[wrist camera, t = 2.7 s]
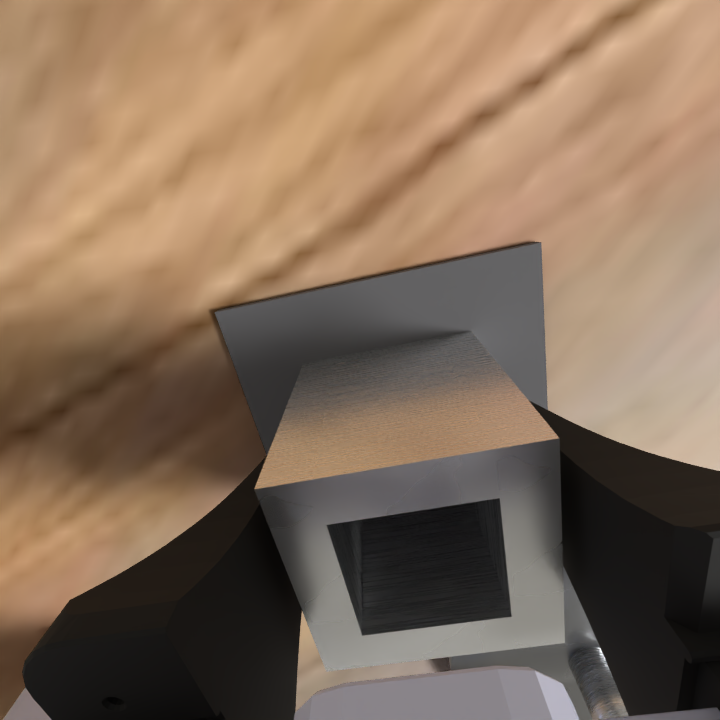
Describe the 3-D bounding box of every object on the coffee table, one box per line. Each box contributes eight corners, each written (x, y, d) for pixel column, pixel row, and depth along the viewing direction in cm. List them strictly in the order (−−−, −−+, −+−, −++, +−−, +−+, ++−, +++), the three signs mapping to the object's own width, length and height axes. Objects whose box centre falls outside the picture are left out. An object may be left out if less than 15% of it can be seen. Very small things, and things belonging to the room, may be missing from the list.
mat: (301, 540, 16) (300, 546, 16) (217, 309, 12) (214, 312, 12) (547, 502, 15) (551, 508, 15) (536, 241, 11) (541, 242, 11)
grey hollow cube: (341, 494, 15) (326, 671, 9) (303, 363, 13) (253, 488, 7) (487, 470, 14) (565, 642, 9) (470, 330, 12) (559, 438, 7)
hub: (461, 719, 21) (486, 857, 16) (428, 557, 16) (451, 687, 12) (698, 694, 20) (793, 835, 15) (731, 514, 15) (879, 639, 11)
